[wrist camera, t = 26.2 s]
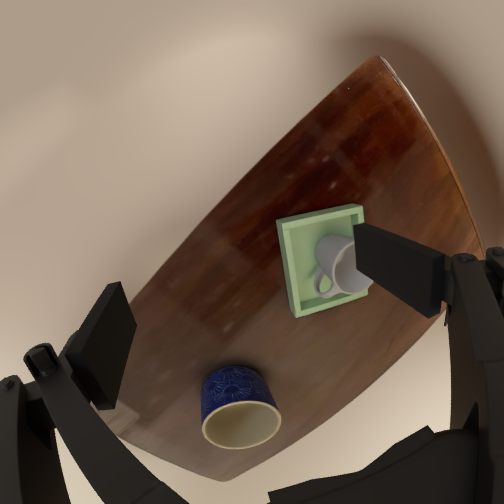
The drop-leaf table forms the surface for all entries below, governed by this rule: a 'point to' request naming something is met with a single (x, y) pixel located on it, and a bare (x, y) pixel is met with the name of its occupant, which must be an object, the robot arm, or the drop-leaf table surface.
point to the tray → (313, 255)
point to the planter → (238, 409)
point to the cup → (338, 266)
